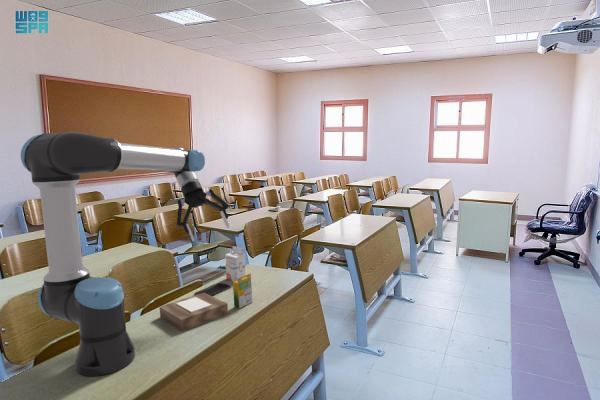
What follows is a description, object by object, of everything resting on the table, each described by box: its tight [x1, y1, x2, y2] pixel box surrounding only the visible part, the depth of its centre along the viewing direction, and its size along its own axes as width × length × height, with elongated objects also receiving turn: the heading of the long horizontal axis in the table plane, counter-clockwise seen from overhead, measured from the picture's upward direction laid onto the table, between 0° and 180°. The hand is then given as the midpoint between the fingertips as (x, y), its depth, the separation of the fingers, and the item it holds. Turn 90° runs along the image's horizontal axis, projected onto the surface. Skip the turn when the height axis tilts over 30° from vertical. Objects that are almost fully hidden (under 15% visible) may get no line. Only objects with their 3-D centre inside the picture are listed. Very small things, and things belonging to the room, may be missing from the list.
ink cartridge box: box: [224, 245, 246, 282], centre depth 178 cm, size 9×5×15 cm, turn 47°
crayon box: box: [232, 273, 253, 309], centre depth 150 cm, size 7×3×12 cm, turn 144°
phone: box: [193, 282, 232, 297], centre depth 165 cm, size 8×1×15 cm
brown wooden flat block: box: [159, 293, 229, 332], centre depth 141 cm, size 18×16×4 cm
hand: (211, 233), depth 147 cm, fingers open, 13 cm apart
